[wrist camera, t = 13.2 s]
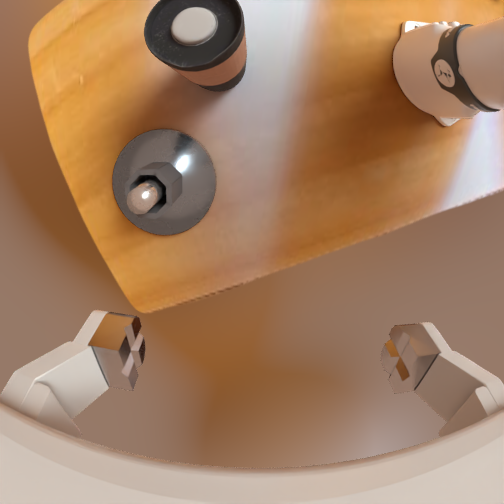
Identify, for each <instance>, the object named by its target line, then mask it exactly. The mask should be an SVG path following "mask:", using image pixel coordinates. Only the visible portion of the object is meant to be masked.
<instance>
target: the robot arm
mask: <svg viewBox="0 0 504 504" xmlns="http://www.w3.org/2000/svg"><path fill="white" fill-rule="evenodd" d="M414 27H416V28H414ZM393 67H394V72H395V76H396V79H397V81H398V83H399V86H400V87H401V89H402V91H403V92H404V94H405V95H406V97H407V98H408V99H409V100H410V101H411V102H412V103H413V104H414V105H415V106H416V107H418V108H419V109H421V110H422V111H424V112H427V113H429V114H431V115H433V116H434V117H435V118H436V119H437V120H438V121H439V122H440V123H441V124H442V125H443V126H451V125H452V124H454V123H455V122H457V121H458V120H459V119H472V118H473V117H474V115H476V114H477V113H479V112H480V111H483V112H496V111H499V110H504V16H503V17H501V18H498V19H495V20H492V21H488V22H485V23H482V24H478V25H470V24H465V25H460V24H459V23H458V22H449V23H448V25H447V22H439V23H437V22H434V23H424V22H415V21H406V22H404V23H403V24H402V32H401V38H400V39H399V41H398V42H397V44H396V46H395V49H394V53H393ZM140 329H141V322H140V319H139V317H137V316H132V315H125V314H119V313H114V312H106V311H100V310H95V311H93V312H92V313H91V315H90V316H89V318H88V319H87V321H86V322H85V324H84V325H83V327H82V328H81V330H80V331H79V333H78V335H77V336H76V338H75V340H74V341H73V342H67V343H65V344H63V345H62V346H60V347H58V348H56V349H54V350H53V351H51V352H49V353H47V354H45V355H43V356H42V357H40V358H38V359H36V360H34V361H33V362H31V363H29V364H27V365H26V366H24V367H22V368H20V369H18V370H16V371H15V372H14V374H13V375H12V377H11V378H10V380H9V382H8V383H7V385H6V386H5V388H4V390H3V391H2V393H1V395H0V504H504V385H503V383H502V382H501V380H500V379H499V378H497V377H496V376H494V375H493V374H491V373H490V372H488V371H486V370H485V369H483V368H481V367H480V366H478V365H477V364H475V363H474V362H472V361H470V360H469V359H467V358H466V357H464V356H462V355H461V354H459V353H457V352H456V351H453V352H452V350H451V349H450V347H449V346H448V345H447V343H446V342H445V340H444V339H443V337H442V336H441V334H440V333H439V332H438V330H437V329H436V327H435V326H434V324H432V323H430V322H425V323H418V324H405V325H395V326H394V327H393V328H392V329H391V332H390V334H389V335H390V338H391V339H390V340H389V341H388V342H387V343H385V345H384V347H383V350H382V353H381V361H382V366H383V368H384V370H385V371H386V372H388V373H389V374H390V376H389V382H390V384H391V387H392V389H393V391H394V394H397V393H404V392H410V391H414V392H415V393H416V394H417V395H418V396H419V397H420V398H421V399H422V400H423V401H425V402H426V403H427V404H428V405H429V406H430V407H431V408H432V409H433V410H434V411H435V412H436V413H437V414H439V415H440V416H441V417H442V418H443V419H444V420H445V421H446V422H447V423H446V424H445V425H444V426H443V427H442V428H441V430H440V431H439V436H440V437H439V438H436V439H433V440H430V441H427V442H424V443H421V444H418V445H415V446H412V447H408V448H404V449H401V450H397V451H393V452H389V453H385V454H381V455H376V456H372V457H367V458H362V459H356V460H351V461H344V462H338V463H330V464H322V465H313V466H301V467H285V468H231V467H215V466H204V465H195V464H186V463H179V462H173V461H166V460H161V459H155V458H150V457H145V456H141V455H136V454H132V453H128V452H124V451H120V450H116V449H112V448H109V447H105V446H102V445H98V444H95V443H92V442H89V441H86V440H83V439H80V438H81V435H82V434H81V431H80V430H79V429H78V427H77V426H76V425H75V423H74V422H73V421H72V419H73V418H74V417H76V416H77V415H78V414H79V413H80V412H82V411H83V410H84V409H85V408H86V407H87V406H89V405H90V404H91V403H92V402H93V401H94V400H95V399H97V398H98V397H99V396H100V395H101V394H102V393H104V392H105V391H106V390H107V389H108V388H109V387H113V388H118V389H124V390H129V391H133V389H134V386H135V384H136V381H137V378H138V372H137V368H138V367H140V366H141V365H142V364H143V361H144V356H145V340H144V337H143V336H142V335H141V334H140V332H139V331H140Z"/></svg>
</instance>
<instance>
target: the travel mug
mask: <svg viewBox="0 0 504 504" xmlns="http://www.w3.org/2000/svg"><path fill="white" fill-rule="evenodd" d="M144 36H145V41H146V44H147V46H148V48H149V50H150V51H151V53H152V54H153V55H154V56H155V57H157V58H158V59H159V60H161V61H162V62H164V63H165V64H167V65H168V66H170V67H171V68H172V69H174V70H175V71H177V72H178V73H180V74H181V75H183V76H184V77H185V78H187V79H188V80H190V81H191V82H193V83H195V84H197V85H199V86H201V87H203V88H205V89H208V90H211V91H225V90H228V89H231V88H232V87H234V86H235V85H237V84H238V83H239V82H240V80H241V79H242V77H243V75H244V72H245V67H246V57H247V49H246V38H245V26H244V16H243V11H242V9H241V6H240V5H239V3H238V1H237V0H160V1H159V2H158V3H157V4H156V5H155V6H154V7H153V9H152V10H151V12H150V13H149V15H148V17H147V20H146V23H145V28H144Z"/></svg>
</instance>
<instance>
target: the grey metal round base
mask: <svg viewBox="0 0 504 504" xmlns="http://www.w3.org/2000/svg"><path fill="white" fill-rule="evenodd" d="M152 162H169V163H171V164H172V165H173V166H174V167H175V168H176V169H177V170H178V171H179V172H180V173H181V174H182V175H181V176H182V194H181V195H180V196H179V198H178V199H177V200H176V201H175V202H174V203H173V204H172V206H171V207H170V208H169V209H168V210H167V211H166V212H165V213H164V214H163V215H162V216H161V217H160V218H158V219H151V218H140V217H138V216H137V215H136V214H145V213H146V212H148V211H149V210H150V209H151V208H152V207H153V206H154V205H155V204H156V203H157V202H158V201H159V200H166V186H165V185H164V184H163V183H162V182H161V181H160V180H159V179H158V178H157V177H156V176H155V175H146V176H145V182H143V183H142V184H140V185H139V186H137V187H136V188H134V189H133V190H131V191H130V192H129V194H128V196H127V205H128V206H127V205H126V202H125V183H126V182H127V181H128V180H129V178H130V177H131V176H132V175H133V174H134V173H135V171H136V170H138V169H140V168H142V167H144V166H146V165H148V164H150V163H152ZM113 191H114V195H115V199H116V201H117V204H118V206H119V208H120V209H121V211H122V212H123V214H124V215H125V216H126V217H127V218H128V220H130V221H131V222H132V223H133V224H134V225H136V226H137V227H139V228H141V229H142V230H144V231H147V232H150V233H153V234H159V235H172V234H177V233H181V232H184V231H186V230H188V229H190V228H191V227H193V226H194V225H196V224H197V223H198V222H199V221H200V220H201V219H202V218H203V217H204V216H205V214H206V213H207V211H208V210H209V208H210V206H211V204H212V201H213V198H214V195H215V191H216V173H215V168H214V165H213V162H212V160H211V158H210V156H209V154H208V153H207V151H206V150H205V148H204V147H203V146H202V145H201V144H200V143H199V142H198V141H197V140H196V139H194V138H193V137H191V136H189V135H187V134H185V133H183V132H180V131H177V130H172V129H159V130H152V131H148V132H146V133H143V134H141V135H139V136H137V137H136V138H134V139H133V140H132V141H130V142H129V143H128V144H127V145H126V146H125V147H124V149H123V150H122V151H121V153H120V155H119V157H118V158H117V161H116V163H115V167H114V171H113Z"/></svg>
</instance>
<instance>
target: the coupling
mask: <svg viewBox="0 0 504 504" xmlns="http://www.w3.org/2000/svg"><path fill="white" fill-rule="evenodd" d="M146 175H155V176H156V177H157V178H158V179H159V180H160V181H161V182H162V183H163V184H164V185H165V186H166V200H159V201H158V202H157V203H156V204H155V205H154V206H153V207H152V208H151V209H150V210H149V211H148V212H146V213H145V214H136V215H137V216H138V217H140V218H151V219H158V218H160V217H161V216H162V215H163V214H164V213H165V212H166V211H167V210H168V209H169V208H170V207H171V206H172V204H173V203H174V202H175V201H176V200H177V199H178V198H179V196H180V195H181V194H182V176H181V175H182V174H181V173H180V172H179V171H178V170H177V169H176V168H175V167H174V166H173V165H172V164H171V163H169V162H152V163H150V164H148V165H146V166H144V167H142V168H140V169H138V170H136V171H135V173H134V174H133V175H132V176H131V177H130V178H129V180H128V181H127V182H126V183H125V202H126V205H127V196H128V194H129V192H130V191H131V190H133V189H134V188H136V187H137V186H139V185H140V184H142V183H143V182H145V176H146ZM127 206H128V205H127Z"/></svg>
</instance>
